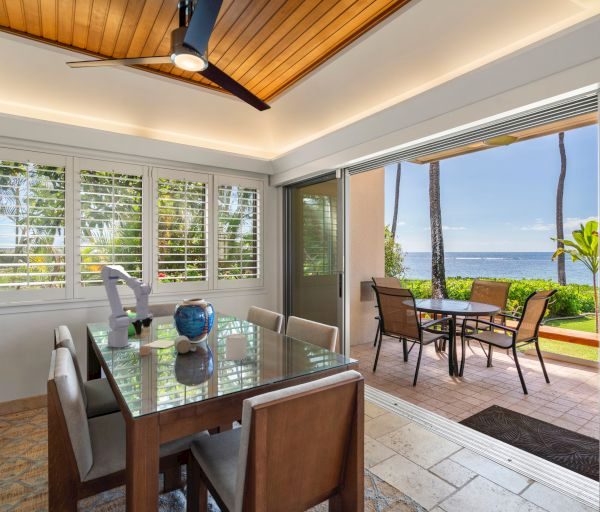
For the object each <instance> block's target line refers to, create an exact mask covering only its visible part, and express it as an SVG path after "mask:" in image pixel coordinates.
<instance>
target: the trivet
mask: <svg viewBox="0 0 600 512" xmlns="http://www.w3.org/2000/svg"><path fill="white" fill-rule="evenodd" d="M174 341H175V340H164V339H163V340H162V339H158V340H155V341H152V342H149V343H146V344H144V345H142V346H151V349H160V348H164V349H163V350H166V349H169V348H171V347H173V346H174ZM172 345H173V346H172ZM170 346H171V347H170ZM168 347H169V348H168ZM165 348H166V349H165Z"/></svg>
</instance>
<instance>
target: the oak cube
mask: <svg viewBox="0 0 600 512" xmlns="http://www.w3.org/2000/svg"><path fill="white" fill-rule="evenodd" d="M150 334H151V327H145V326H142V328H141V335H137V334H136V331H135V334H134V338H135V339H147V338H149V337H150V336H151V335H150Z"/></svg>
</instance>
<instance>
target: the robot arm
mask: <svg viewBox="0 0 600 512" xmlns="http://www.w3.org/2000/svg"><path fill="white" fill-rule="evenodd" d="M100 275H101V279H102V282H103V285H104V289H105V292H106V294H107V295H106V296H107V299H108V302H109V306H110V309H111V310H110V311H111V314H110V316H109V317H108V321H109V322H108V325H109V328H110V330H109V331H108V333H107V345H106V347H107V348H108V347H109V348H125V347H127V346H131V345H130V344H132V343H131V342H129V341H128V340H129V338H128V337H129V335H128V328H129V326H130V325H131V322H132V324H133V326H134V328H135V331H136V334H137V335H141V328H142V324H143V326H145V327H150V326H151V323H152V322H153V317H154V313H149V296H150V294H151V292H152V287H151V285H150V284H149V283H144V282H143V281H141V280H139V279H138V277H137V276H131V275H130V274H129V273H128V272H127V271H126V269H125V267H123V266H122V265H103V266H102V268H101V270H100ZM120 279H121V280H123V281H124V282H126V285H127V287H129V288H130V289H131V290H132V291H133V294H134V296H135V299H136V306H135V307H136V311H135V313H136V316H135V317H133V318H130V317H129V315H128V313H127V312H126V311H125V310H124V308H123V306H122V305H123V304H122V302H121V299H120V295H119V291H118V288H117V284H116V283H117V282H118V281H120ZM140 320H142V322H141V321H140ZM150 328H151V327H150Z"/></svg>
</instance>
